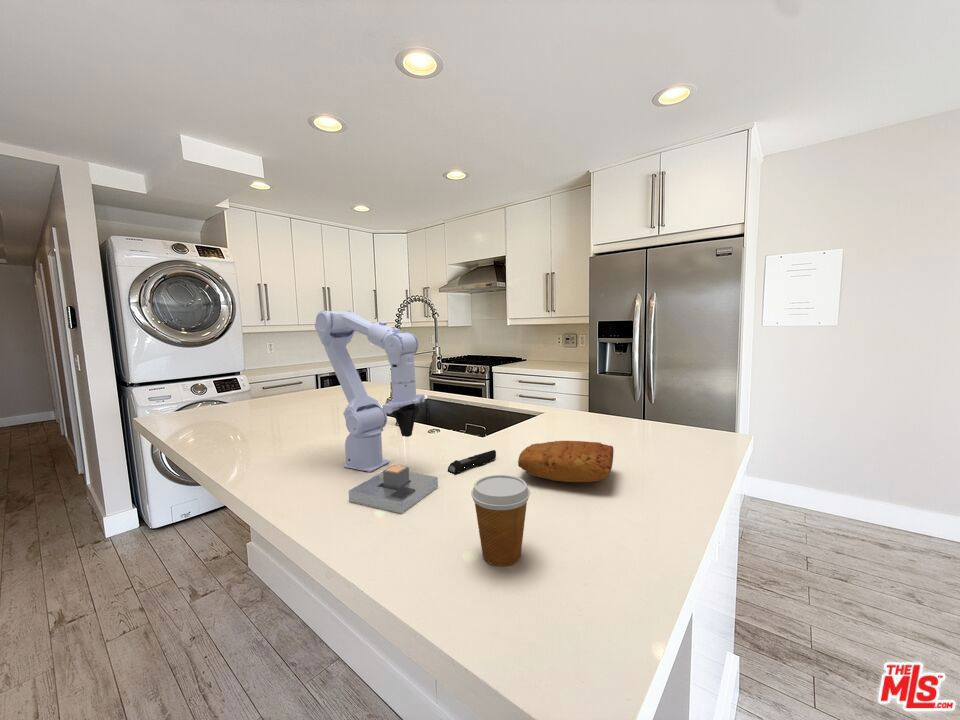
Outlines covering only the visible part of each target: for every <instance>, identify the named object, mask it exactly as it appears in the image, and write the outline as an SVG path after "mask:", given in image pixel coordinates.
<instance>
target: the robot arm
mask: <svg viewBox="0 0 960 720" xmlns="http://www.w3.org/2000/svg"><path fill="white" fill-rule="evenodd" d="M387 324H388V323H387V322H386V321H379V322H374V323H373V322H371V321H369V320H368V319H365V318H363V317H362V316H360V315H358V313H357V312H354V311H352V310H346V311H345V310H344V311H343V310H341V311H339V310H337V311H336V310H319V312H318V313H317V315H316V317H315V323H314V328H315V330H316V332H317V333H316V334H317V335H318V337H319V339H320V342H321V344H322V345H323V347H324V350H325V353H326V355H327V357H328V359H329V361H330V364H331V367H332V369H333V370H334V373H335V376H336V378H337V380H338V382H339V384H340V387H341V389H342V391H343V394H344V395H345V398H346V400H347V403H348V405H347V406H346V407H345V409H344V411H343V416H344V419H345V427H346V429H347V431H348V433H349V434H347V437H346V439H345V442H344V448H345V449H344V450H345V453H344V454H345V464H344V465H343V468H348V469H353V470H358V471H363V472H369V473H371V472H373V471H375V470H377V469H380V468H381V467H383V466H385V465H387V464H389V463H390V462H391V461H390V460H389V459H384V458H383V442H382V433H383V432H384V428H385V427H386V426H387V423H388V415H387V414H392V415H393V417H394V419H395V421H396V422H397V425H398V428H399V431H400V433H401V436H402V437H407V438H409V437H411V436H413V431H414V425H415V421H416V419H417V416H418V413H419V411H420V406H419V405H416V404H419V403H424V402H426V401H425V394H424V393H423V394H419V393H418V394H417V389H416V388H417V386H416V371H415V369H416V368H415V367H416V366H415V354H416V353H417V351H418V349H419V340H418V338H417V336H416V335H415V334H414V333H412V331H406V332H402V331H400V328H397V327H395V328H394V327H392V326H389V325H387ZM355 332H356V333H359V334H362V335H364V336H366V337H367V341H369V343H370V344H373V345H375V346H377V347H379V348H381V349H383V350H384V351H385V353H386V356H387V358H388V359H387V360H388V361H387V362H389V364H390V374H391V375H390V376H391V391H392V399H391V400H390V401H388V402H387V403H384V404H382V406H381V405H380V403H379V401H378V399H376V398H373V397H372V396H370V395H369V394H368V393H367V391H366V388H365V386H364V384H363V382H362V379H361V376H360V375H359V372H358V371H357V368H356V367H355V364H354V362H353V360H352V357H351V355H350V353H349V351H348V349H347V345H348V344H350V342H351V341H352V339H353V336H354V334H355Z"/></svg>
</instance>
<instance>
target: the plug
mask: <svg viewBox="0 0 960 720" xmlns="http://www.w3.org/2000/svg"><path fill="white" fill-rule="evenodd" d="M382 472H383V480H384V488H388V489H393V490H398V489H400V488H402V487H403V486H405V485H406V484H408V483H409V472H410V467H408V466H403V465H397V464H393V465H391V466H390V467H388V468H386V469H384V470H383V471H382Z"/></svg>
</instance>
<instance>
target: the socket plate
mask: <svg viewBox="0 0 960 720" xmlns="http://www.w3.org/2000/svg"><path fill="white" fill-rule="evenodd" d="M437 487H438V488H439V477H438V476H434V475H429V474H424V473H418V472H417V473H416V472H412V471H409V483H408V484H406V485H405V486H403V487H402V488H400V489H398V490H393V489H388V488H384V480H383V471H382V472H380V473H378V474H376V475H375V476H373V477H371V478H369V479H367V480H366V481H364V482H362V483H359V484H358V485H356V486H355V487H353V488H351V489H349V490H348V502H349V503H353V504H357V505H361V506H366V507H370V508H375V509H380V510H384V511H388V512H392V513H396V514H401V515H402V514H404V513H405V512H406V511H408V510H409V509H410V508H412V507H413V506H414V505H416V504H418V503H419V502H420V501H421V500H423V499H424V498H426V497H427V496H429V495H430V494H431V493H432V492H433V491H435V490H437V489H438V488H437ZM429 493H430V494H429ZM418 501H419V502H418Z"/></svg>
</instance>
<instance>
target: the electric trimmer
mask: <svg viewBox="0 0 960 720" xmlns="http://www.w3.org/2000/svg"><path fill="white" fill-rule="evenodd" d="M496 458H497V451H496V449H493V450H490V451H486V452H482V453H479V454H475V455H473V456H468V457H467V458H463V459H460V460H456V459H455V460H454V461H453V462H450V464H449V465H448V468H447V472H448V473H449V472H450V473H449V474H451V473H452V474H451V475H453V474H455V475H460V472H463V471H466V470H468V469H471V468H474V467H480V466H483V465H485V464H487V463H489V462H491V461H492V460H495V459H496ZM473 464H474V465H473ZM464 467H465V468H464Z"/></svg>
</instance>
